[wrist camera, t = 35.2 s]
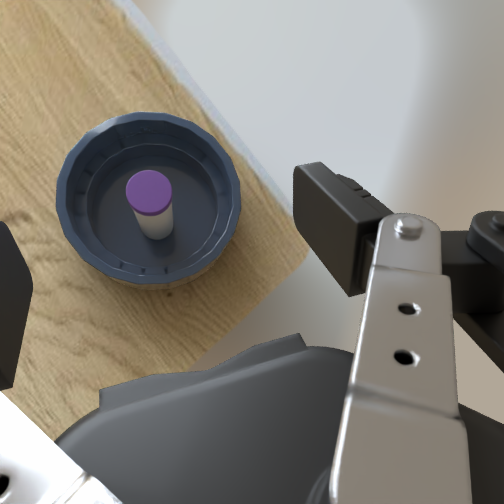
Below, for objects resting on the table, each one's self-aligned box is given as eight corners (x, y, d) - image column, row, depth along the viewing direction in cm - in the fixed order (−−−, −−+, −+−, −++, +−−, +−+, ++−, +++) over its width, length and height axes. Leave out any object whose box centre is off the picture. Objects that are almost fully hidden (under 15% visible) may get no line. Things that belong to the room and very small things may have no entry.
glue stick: (143, 244, 39) (131, 217, 29) (136, 211, 39) (121, 174, 30) (177, 236, 40) (176, 208, 30) (170, 204, 40) (166, 166, 30)
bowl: (249, 168, 43) (259, 144, 37) (208, 308, 39) (213, 305, 34) (106, 121, 41) (93, 88, 35) (50, 264, 38) (26, 253, 32)
